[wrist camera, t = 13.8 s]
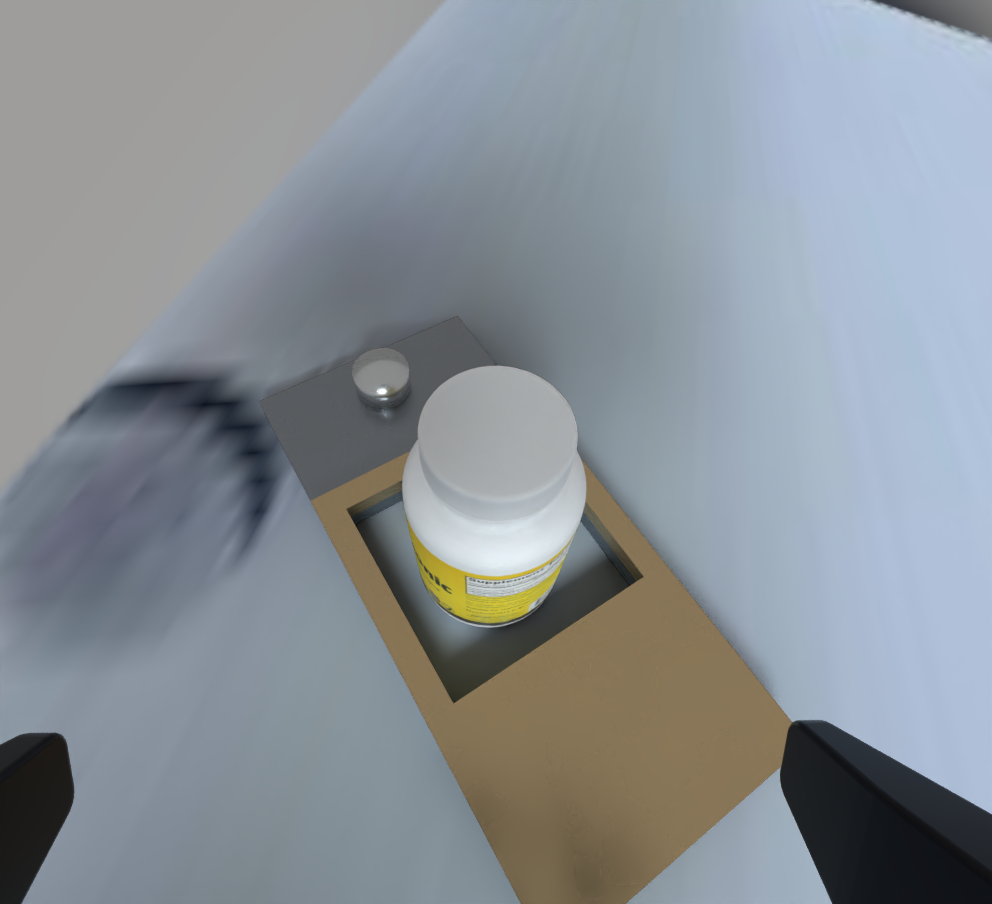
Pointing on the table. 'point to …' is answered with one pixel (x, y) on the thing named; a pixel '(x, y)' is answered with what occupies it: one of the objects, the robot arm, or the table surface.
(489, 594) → the supplement bottle
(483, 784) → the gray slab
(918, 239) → the table surface
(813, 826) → the robot arm
